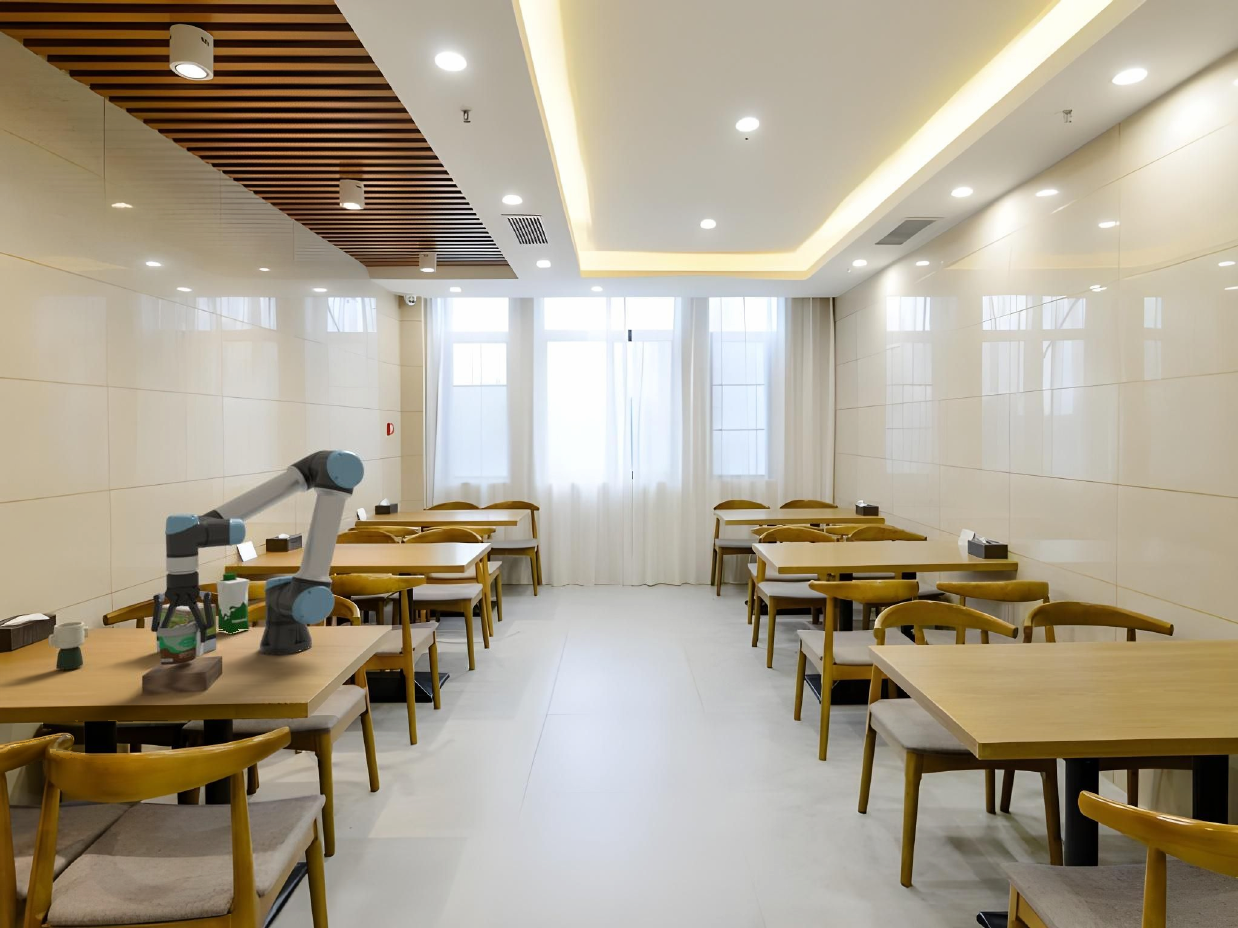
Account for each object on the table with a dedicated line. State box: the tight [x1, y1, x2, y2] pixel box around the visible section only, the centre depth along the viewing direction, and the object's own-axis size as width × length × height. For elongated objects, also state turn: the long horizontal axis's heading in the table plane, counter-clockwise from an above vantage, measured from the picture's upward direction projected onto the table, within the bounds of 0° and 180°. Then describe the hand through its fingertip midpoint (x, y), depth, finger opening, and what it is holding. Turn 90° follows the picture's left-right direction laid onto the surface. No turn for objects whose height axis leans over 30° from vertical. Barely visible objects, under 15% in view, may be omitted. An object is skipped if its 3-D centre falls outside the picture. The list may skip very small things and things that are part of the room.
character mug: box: [48, 621, 90, 671], centre depth 211 cm, size 11×7×13 cm, turn 161°
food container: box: [156, 618, 199, 665], centre depth 197 cm, size 12×6×10 cm, turn 169°
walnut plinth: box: [141, 655, 223, 696], centre depth 197 cm, size 15×15×5 cm
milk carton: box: [215, 572, 251, 633], centre depth 254 cm, size 9×9×20 cm
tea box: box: [155, 601, 217, 656], centre depth 229 cm, size 15×10×15 cm
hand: (183, 655), depth 197 cm, fingers closed on food container, 7 cm apart
